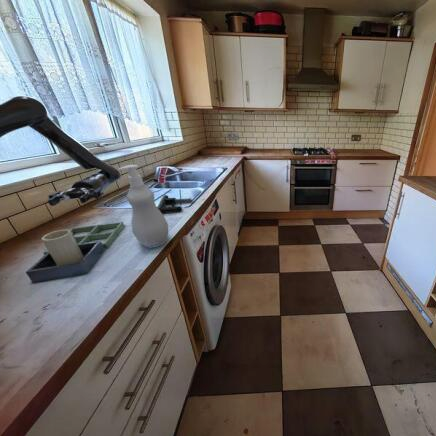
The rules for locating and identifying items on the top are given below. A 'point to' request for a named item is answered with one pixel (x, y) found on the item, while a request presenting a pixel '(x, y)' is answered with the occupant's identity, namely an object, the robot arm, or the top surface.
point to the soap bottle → (145, 212)
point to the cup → (63, 247)
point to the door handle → (171, 201)
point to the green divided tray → (93, 235)
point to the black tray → (50, 270)
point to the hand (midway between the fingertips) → (66, 201)
